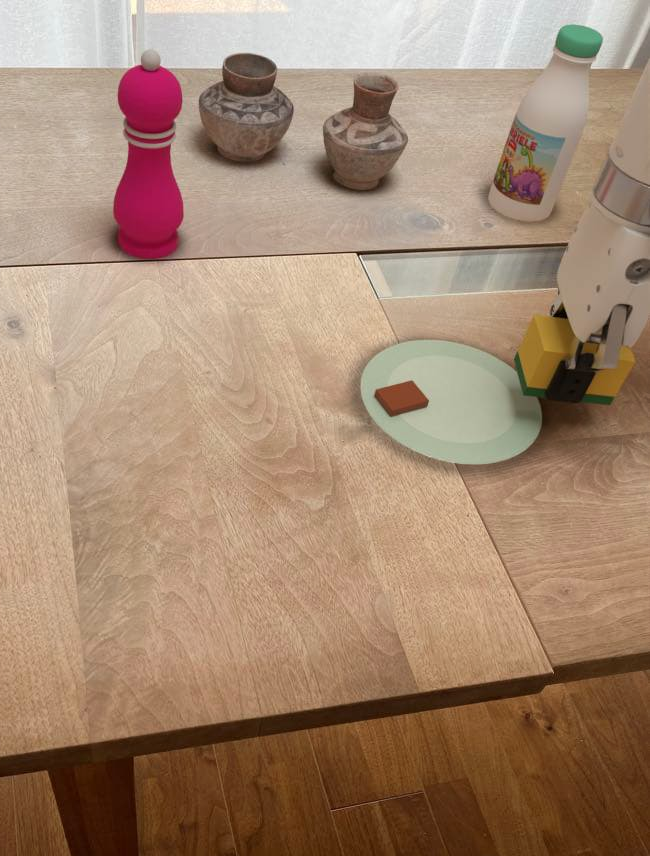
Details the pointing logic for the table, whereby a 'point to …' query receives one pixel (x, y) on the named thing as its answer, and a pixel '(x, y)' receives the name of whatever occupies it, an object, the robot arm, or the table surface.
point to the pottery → (272, 113)
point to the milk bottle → (546, 129)
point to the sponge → (550, 346)
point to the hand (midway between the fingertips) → (556, 376)
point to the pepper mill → (149, 161)
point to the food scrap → (401, 398)
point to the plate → (454, 402)
